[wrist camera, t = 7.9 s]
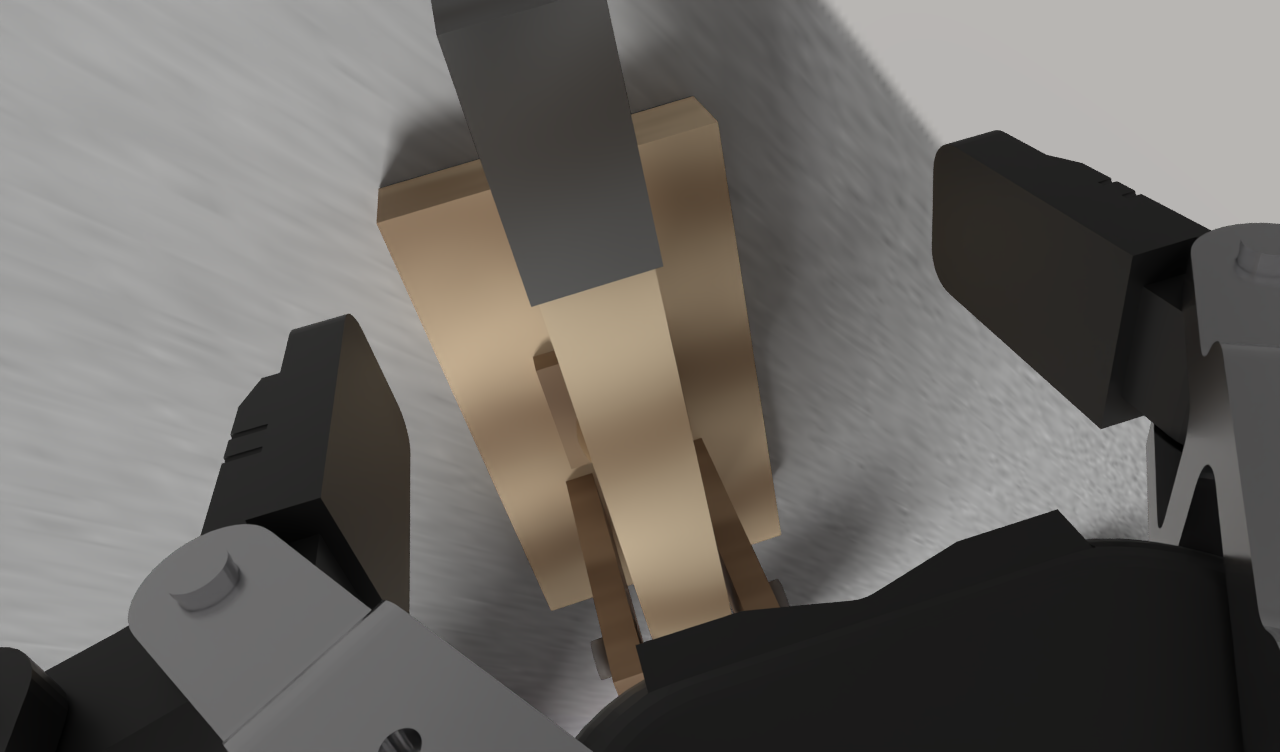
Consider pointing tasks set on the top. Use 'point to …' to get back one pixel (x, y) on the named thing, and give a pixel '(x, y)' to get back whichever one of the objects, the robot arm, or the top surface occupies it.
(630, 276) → the lever
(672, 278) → the press base
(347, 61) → the top surface
